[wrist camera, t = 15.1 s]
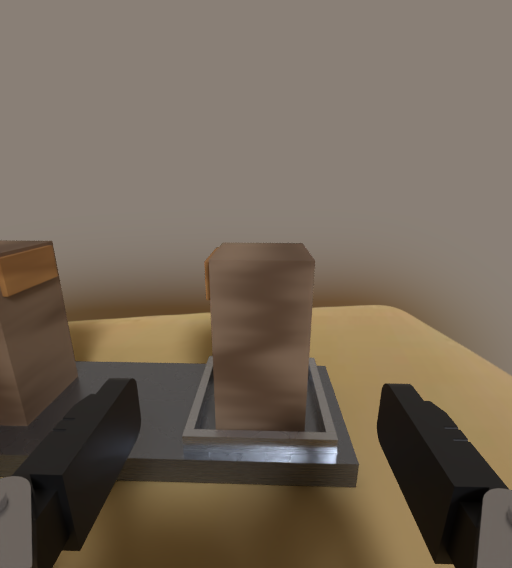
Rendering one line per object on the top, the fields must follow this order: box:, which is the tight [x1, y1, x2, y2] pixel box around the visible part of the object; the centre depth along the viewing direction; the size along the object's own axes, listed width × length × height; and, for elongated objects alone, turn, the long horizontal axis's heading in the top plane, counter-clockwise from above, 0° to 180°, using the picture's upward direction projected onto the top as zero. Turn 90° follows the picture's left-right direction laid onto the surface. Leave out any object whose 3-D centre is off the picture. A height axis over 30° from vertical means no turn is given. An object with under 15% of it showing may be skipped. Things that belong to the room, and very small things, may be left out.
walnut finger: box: [205, 243, 315, 432], centre depth 18 cm, size 5×5×10 cm
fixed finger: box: [0, 241, 78, 426], centre depth 19 cm, size 5×5×10 cm
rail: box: [0, 356, 359, 487], centre depth 20 cm, size 26×9×2 cm, turn 88°
